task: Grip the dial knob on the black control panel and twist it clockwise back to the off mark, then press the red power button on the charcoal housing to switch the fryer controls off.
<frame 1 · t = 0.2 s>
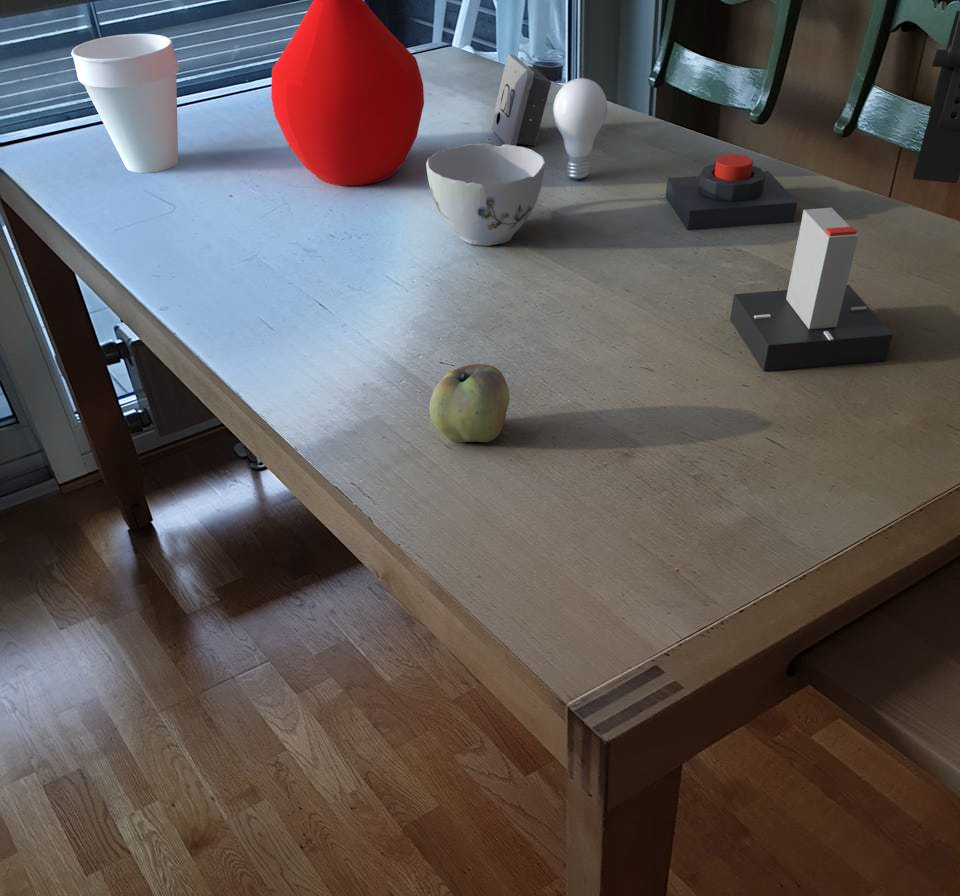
hand: (941, 146, 67), 19 cm above the table, tool pointing down, fingers open, 13 cm apart
teacup: (485, 233, 108), on the table
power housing: (727, 209, 110), on the table
power button: (733, 168, 107), point 4 cm above the table, slide at 0.1 cm
vase: (357, 174, 123), on the table
apple: (480, 436, 78), on the table
lightbulb: (577, 180, 118), on the table
cup: (152, 165, 128), on the table
electrical switch: (518, 139, 130), on the table
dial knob: (820, 267, 83), point 7 cm above the table, hinge at 90.0°
dial panel: (804, 339, 88), on the table
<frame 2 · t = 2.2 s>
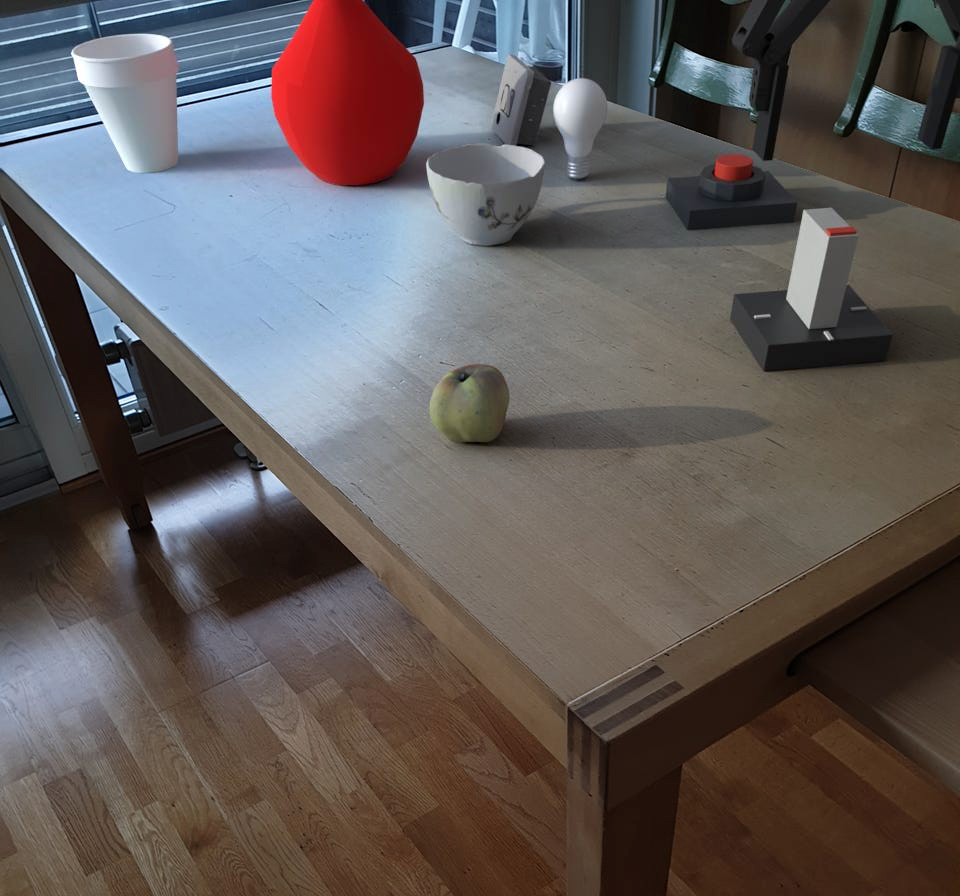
hand: (845, 149, 76), 16 cm above the table, tool pointing down, fingers open, 13 cm apart
nothing on the table moved.
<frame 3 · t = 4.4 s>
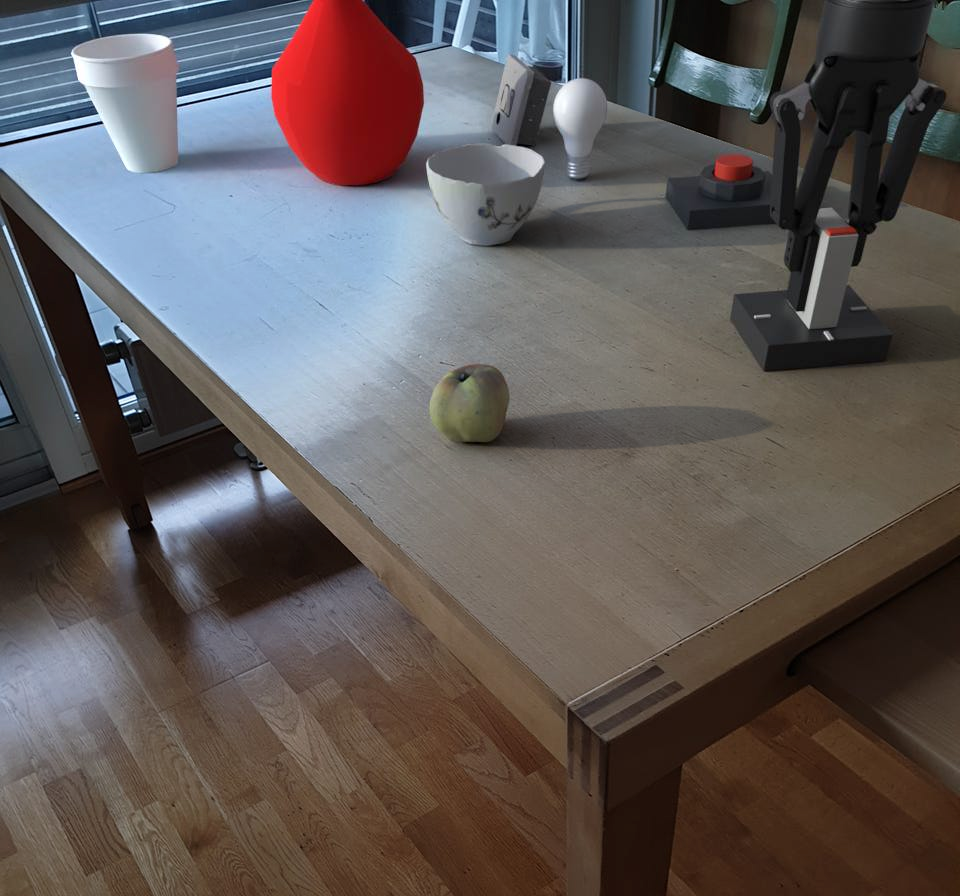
hand: (812, 302, 85), 4 cm above the table, tool pointing down, fingers closed on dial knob, 2 cm apart
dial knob: (820, 267, 83), point 7 cm above the table, hinge at 90.0°, touching gripper
everything else where it was.
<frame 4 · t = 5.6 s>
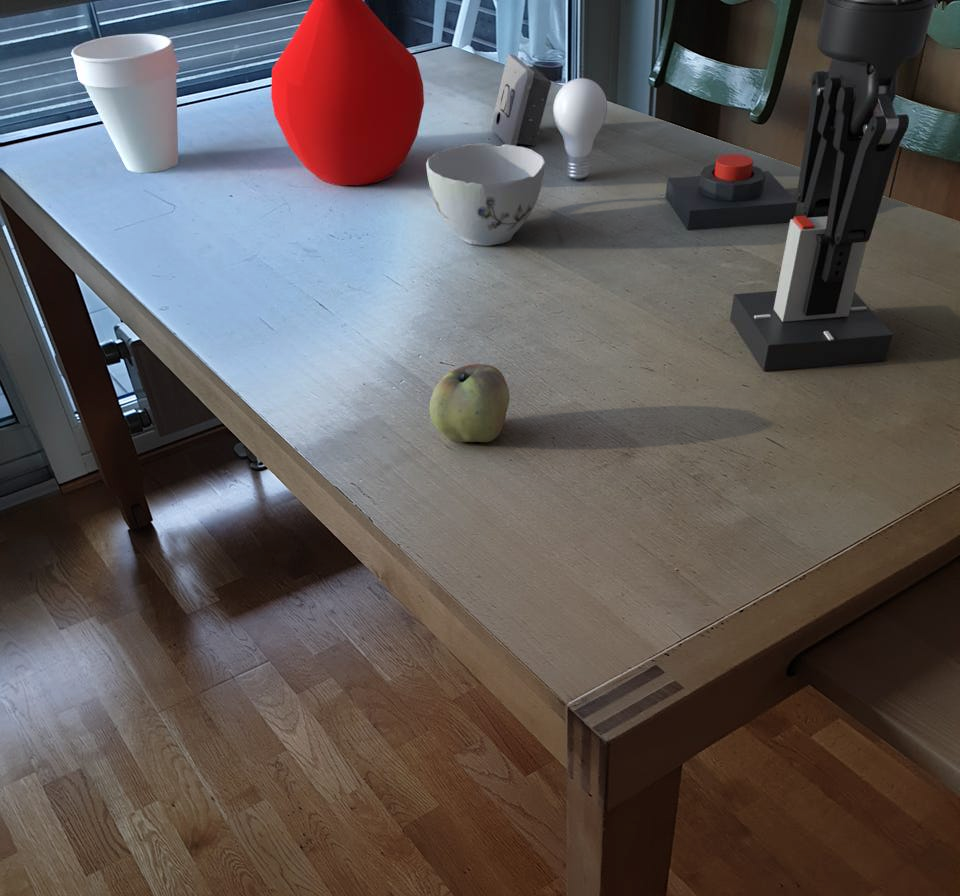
hand: (812, 303, 85), 3 cm above the table, tool pointing down, fingers open, 3 cm apart
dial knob: (820, 267, 83), point 7 cm above the table, hinge at 0.0°
everything else where it was.
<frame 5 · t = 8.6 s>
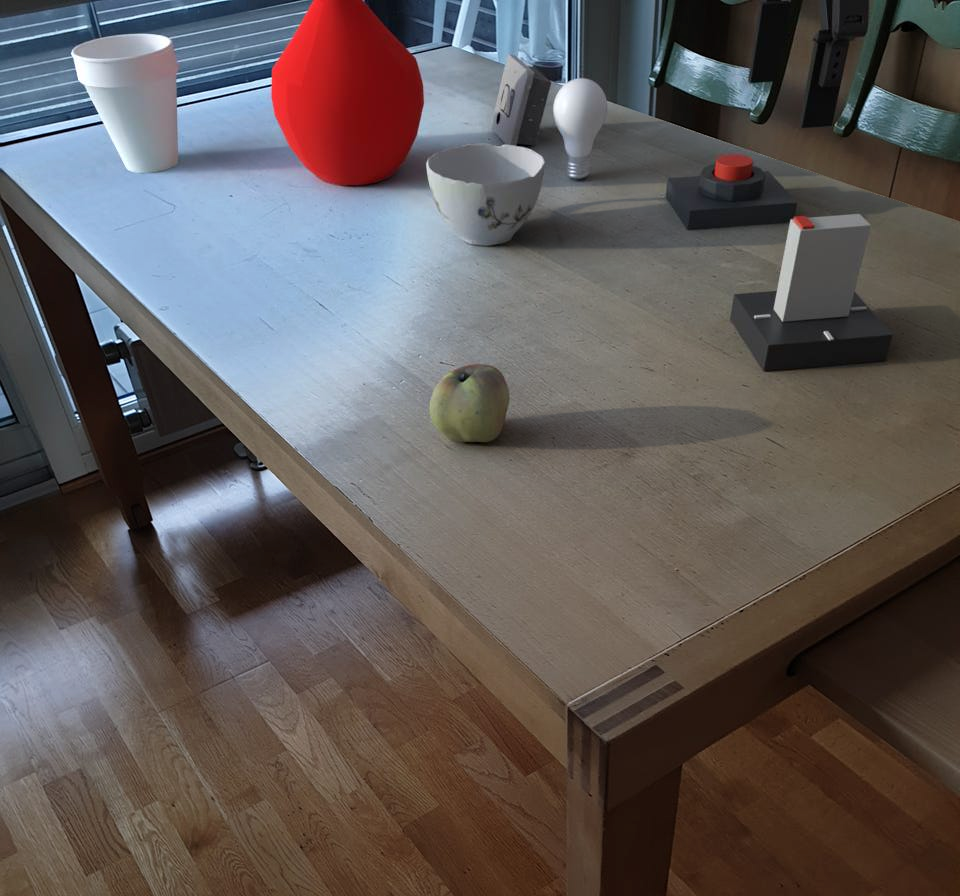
hand: (787, 102, 88), 15 cm above the table, tool pointing down, fingers open, 13 cm apart
nothing on the table moved.
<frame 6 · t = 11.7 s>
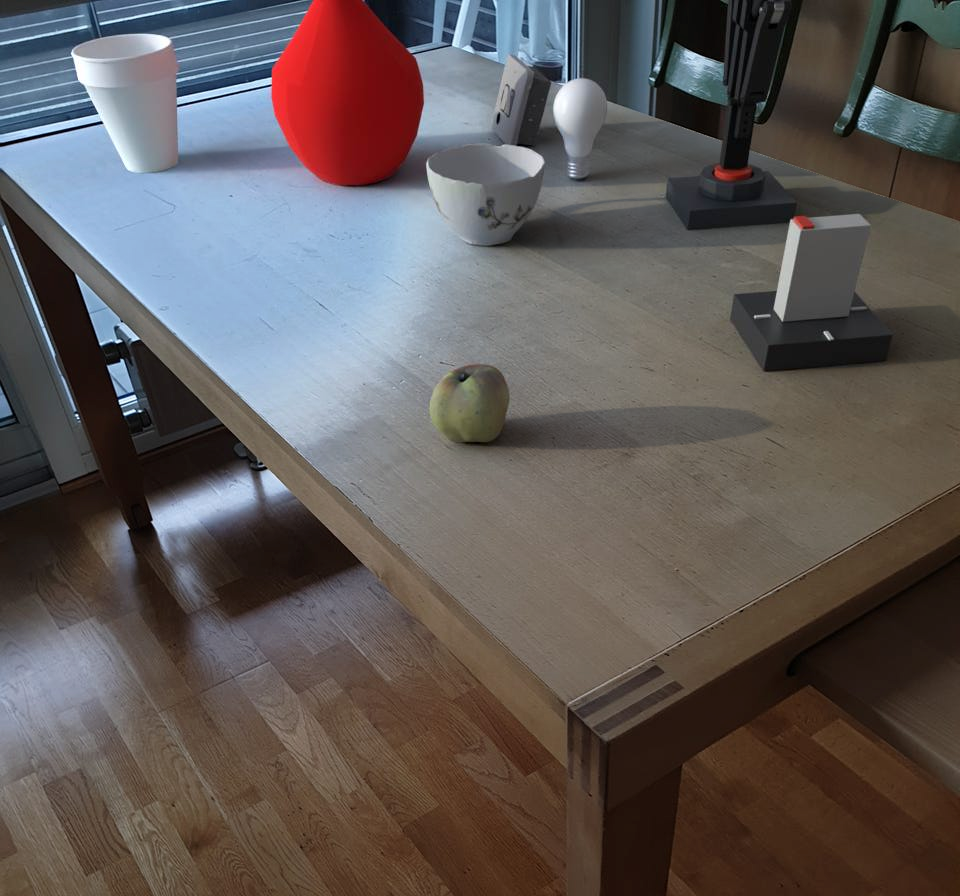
hand: (733, 165, 107), 5 cm above the table, tool pointing down, fingers closed
power button: (732, 176, 107), point 4 cm above the table, slide at -0.8 cm, touching gripper
everything else where it was.
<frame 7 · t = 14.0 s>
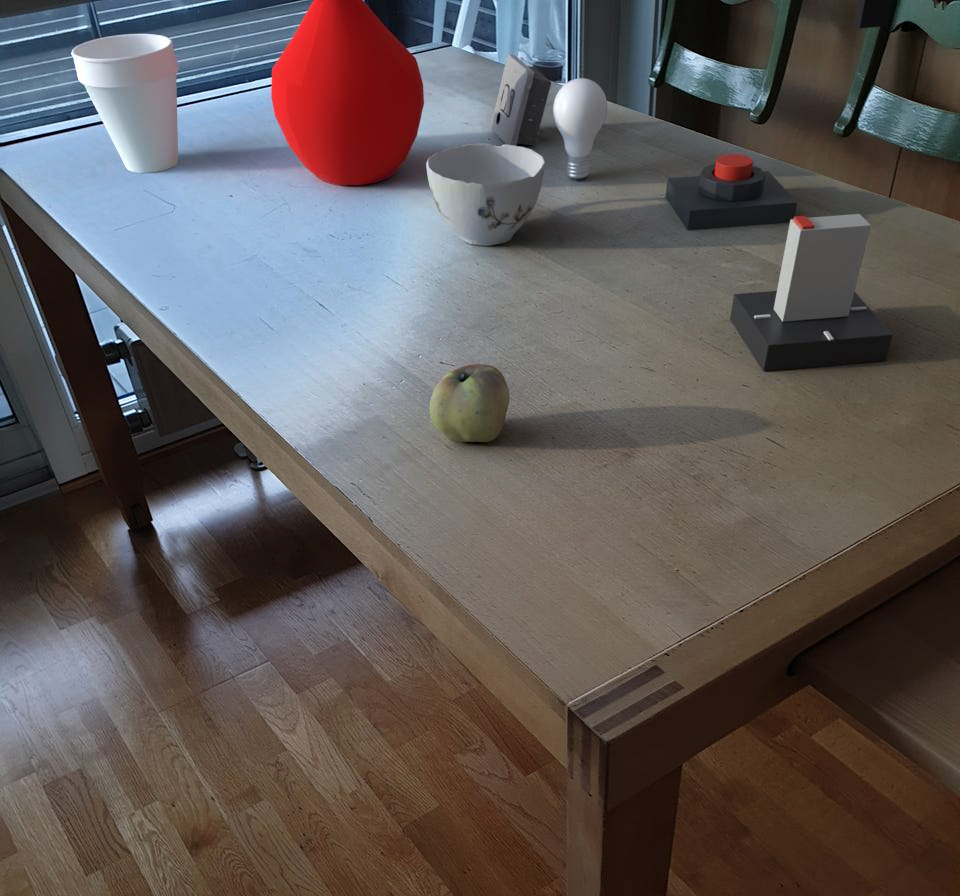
hand: (870, 25, 91), 19 cm above the table, tool pointing down, fingers closed
power button: (733, 168, 107), point 4 cm above the table, slide at 0.1 cm
everything else where it was.
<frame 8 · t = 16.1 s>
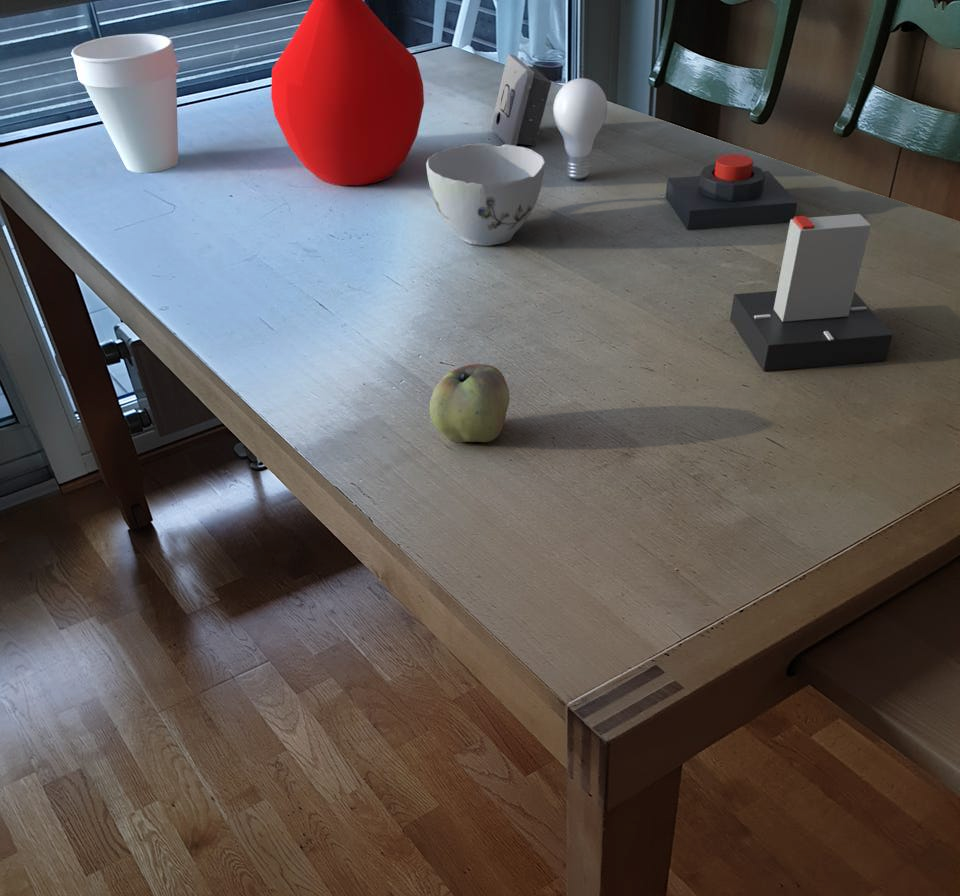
nothing on the table moved.
at the end: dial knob at +0° (first picture: +90°); power button pushed in 1.0 cm at the most during the clip, back to where it started at the end; power button slide at 0.1 cm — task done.
